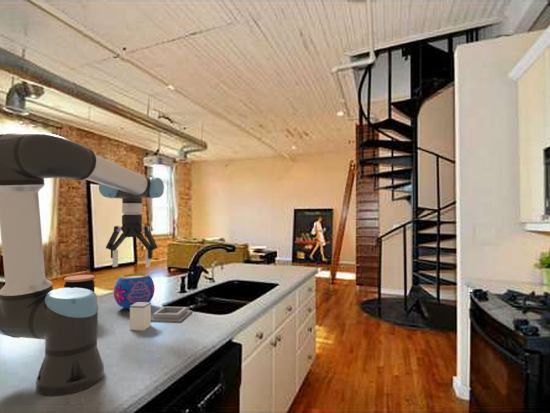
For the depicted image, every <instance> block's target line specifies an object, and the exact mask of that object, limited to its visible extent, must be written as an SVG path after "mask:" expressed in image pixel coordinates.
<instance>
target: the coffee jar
mask: <svg viewBox="0 0 550 413" xmlns="http://www.w3.org/2000/svg"><path fill="white" fill-rule="evenodd" d="M94 279H95V275H94V274H78V275H70V276H67V277H64V282H65V283H64V285H63V288H84V289H89V290H91V291H93V292H94V293H95V281H94Z"/></svg>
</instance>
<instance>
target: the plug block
mask: <svg viewBox="0 0 550 413" xmlns="http://www.w3.org/2000/svg"><path fill="white" fill-rule="evenodd" d="M151 309H152V302H151V301H150V302H136V303H134V304H133V305H131V306H130V309H129V330H130V331H145V330H146V329H148V328H149V327H150V326H151V324H152V323H151V316H152V312H151V311H152V310H151Z"/></svg>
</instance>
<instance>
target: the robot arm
mask: <svg viewBox="0 0 550 413" xmlns="http://www.w3.org/2000/svg"><path fill="white" fill-rule="evenodd" d="M45 179H70V180H74V181H78V182H79V181H85V180H87V181H90V182H93V183H95V184H98V191H99V194H100V195H101V196H102V197H104V198H107V199H120V200H121V213H122V215H121V224H122V226H120V225H114V227H113V232H112V234H111V236H110V238H109V240H108V242H107V244H106V245H105V249H106V250H109V251H110V258H111V259H112V268H115V267H119V249H118V247H119V246H120V245H121V244H122V243H124V241H125V239H126V238H136V239H139V241H140V243H141V244H142V245H143V247H145V249H146V250H145V268H150V267H151V260H152V259H153V256H154V255H153V251H154V250H156V249H158V245H157V243H156V241H155V239H154V237H153V234H152V232H151V226H150V225H145V226H143V225H142V224H143V215H142V213H143V199H157V198H159V199H160V198H161V197H162V196H163V194H164V191H165V185H164V181H163V180H162V179H161V178H159V177H154V176H152V177H148V176H145V175H143V174H140V173H138V172H136V171H133V170H131V169H129V168H127V167H124V166H123V165H119V164H118V163H116V162H113V161H111V160H108V159H106V158H103V157H101V156H99V155H97V154H96V152H94V150H93V149H92V148H90V147H88V146H85V145H83V144H81V143H78V142H75V141H73V140H71V139H68V138H65V137H63V136H59V135H57V134H52V133H49V132H48V133H47V132H39V131H38V132H19V133H18V132H17V133H1V134H0V240H1V250H2V262H3V263H2V264H3V272H4V274H3V275H4V282H5V284H4V285H3V286H2V287H1V289H0V335H3V336H7V337H10V338H13V339H19V338H23V339H24V338H25V339H33V340H34V339H35V340H45V341H44V349H45V350H44V358H43V360H42V363H41V365H40V368H39V371H38V374H37V377H36V380H35V390H36V392H37V393H39V394H40V395H44V396H52V397H53V396H64V395H68V394H73V393H77V392H80V391H83V390H85V389H88V388H90V387H92V386H93V385H95V384H97V383H98V382H99V381H100V380H102V379H103V377H104V375H105V366H104V362H103V359H102V357H101V354H100V351H99V349H98V321H99V320H98V316H99V315H98V314H99V305H98V297H97V294H96V293H95V291H94V292H93V291H91V290H89V289H84V288H64V287H60V288H56V289H55V288H53V287H54V286H53V282H52V281H51V280H49V279H48V278H46V272H45V261H44V260H45V259H44V248H43V247H44V246H43V235H42V222H41V221H42V220H41V209H40V200H39V199H40V196H39V192H40V190H42V188H44V186H45ZM121 231H122V232H121ZM142 231H143V232H144V234H145V236H144V234H143V233H142ZM120 232H121V234H120ZM119 234H120V236H119ZM118 236H119V237H118Z"/></svg>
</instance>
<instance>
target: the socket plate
mask: <svg viewBox="0 0 550 413" xmlns="http://www.w3.org/2000/svg"><path fill="white" fill-rule="evenodd" d="M192 313H193V310H191V309H190V310H189V309H188V307H186V306H163V307H161V308H159V309H158V310H156V311H155V312H154V313H152V315H151V322H154V323H155V322H156V323H178V324H179V323H181V322H182V321H183V320H185V319H186V318H187V317H188V316H190V314H192Z"/></svg>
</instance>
